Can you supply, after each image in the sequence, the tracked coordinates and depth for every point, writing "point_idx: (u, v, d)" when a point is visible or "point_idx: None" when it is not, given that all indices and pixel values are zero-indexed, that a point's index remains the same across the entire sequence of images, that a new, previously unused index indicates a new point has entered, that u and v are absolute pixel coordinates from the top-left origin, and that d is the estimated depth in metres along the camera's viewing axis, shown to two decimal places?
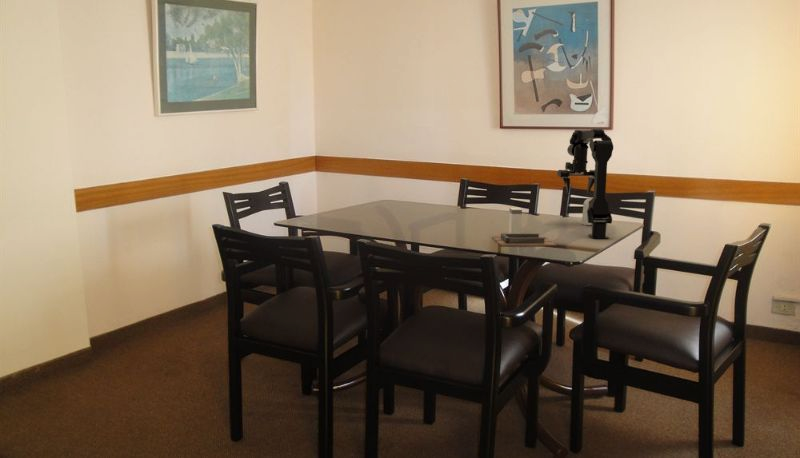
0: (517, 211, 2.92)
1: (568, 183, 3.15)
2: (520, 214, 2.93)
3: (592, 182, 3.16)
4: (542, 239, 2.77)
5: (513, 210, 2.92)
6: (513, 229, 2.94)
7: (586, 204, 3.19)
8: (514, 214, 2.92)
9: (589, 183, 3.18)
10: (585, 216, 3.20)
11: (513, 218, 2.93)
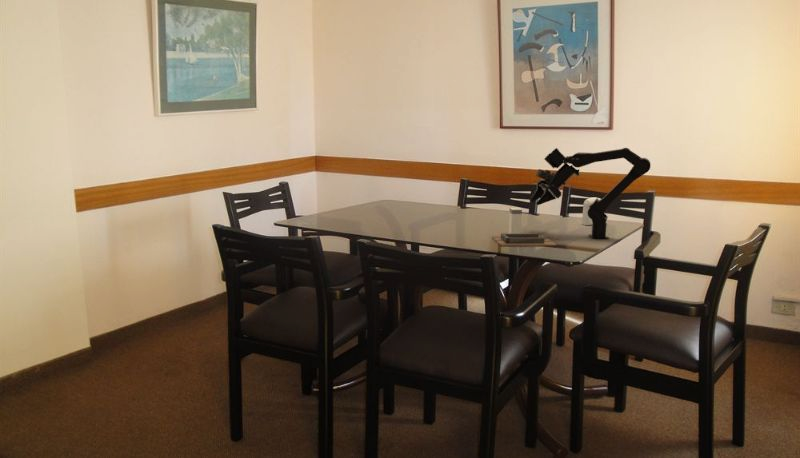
0: (517, 211, 2.92)
1: None
2: (520, 214, 2.93)
3: None
4: (542, 239, 2.77)
5: (513, 210, 2.92)
6: (513, 229, 2.94)
7: (586, 204, 3.19)
8: (514, 214, 2.92)
9: (539, 194, 2.99)
10: (585, 216, 3.20)
11: (513, 218, 2.93)
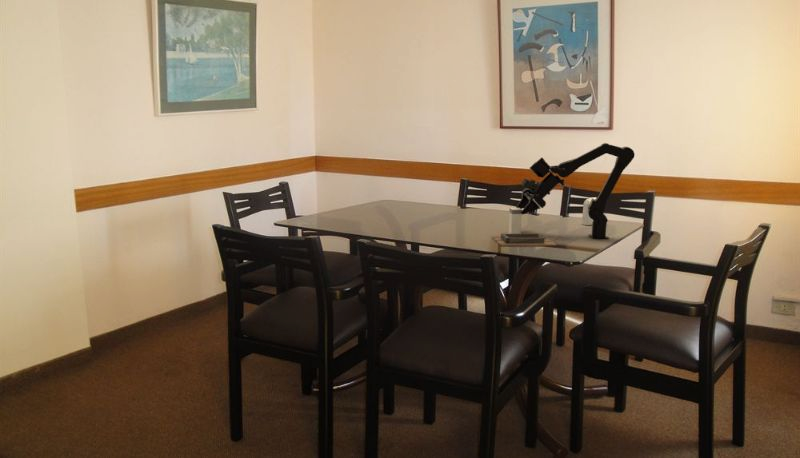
0: (517, 211, 2.92)
1: None
2: (520, 214, 2.93)
3: None
4: (542, 239, 2.77)
5: (513, 210, 2.92)
6: (513, 229, 2.94)
7: (586, 204, 3.19)
8: (514, 214, 2.92)
9: (524, 203, 2.99)
10: (585, 216, 3.20)
11: (513, 218, 2.93)
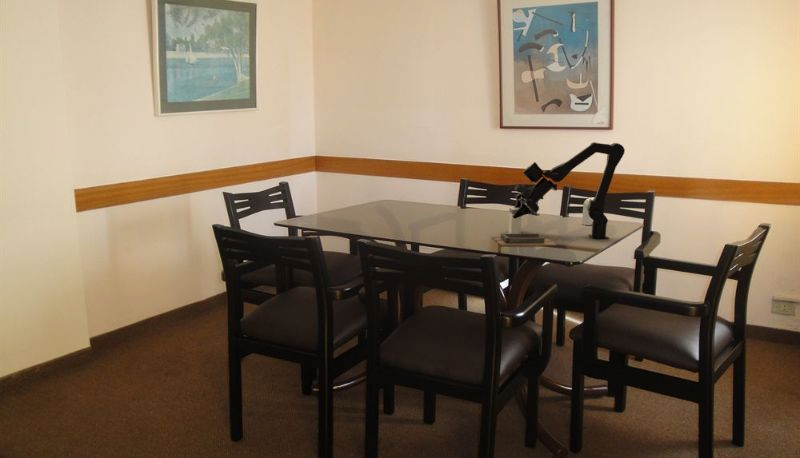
0: None
1: None
2: None
3: None
4: (542, 239, 2.77)
5: (513, 210, 2.92)
6: (513, 229, 2.94)
7: (586, 204, 3.19)
8: None
9: None
10: (585, 216, 3.20)
11: (513, 218, 2.93)
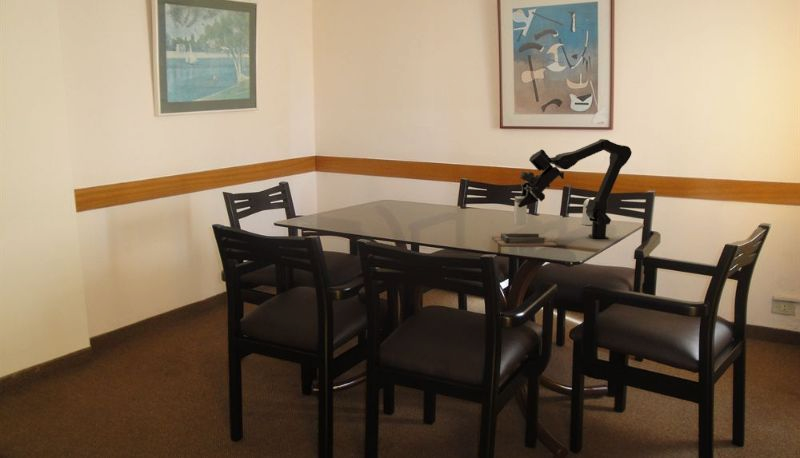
0: None
1: None
2: None
3: None
4: (542, 239, 2.77)
5: (518, 199, 2.83)
6: (518, 218, 2.85)
7: (586, 204, 3.19)
8: None
9: None
10: (585, 216, 3.20)
11: (518, 207, 2.84)
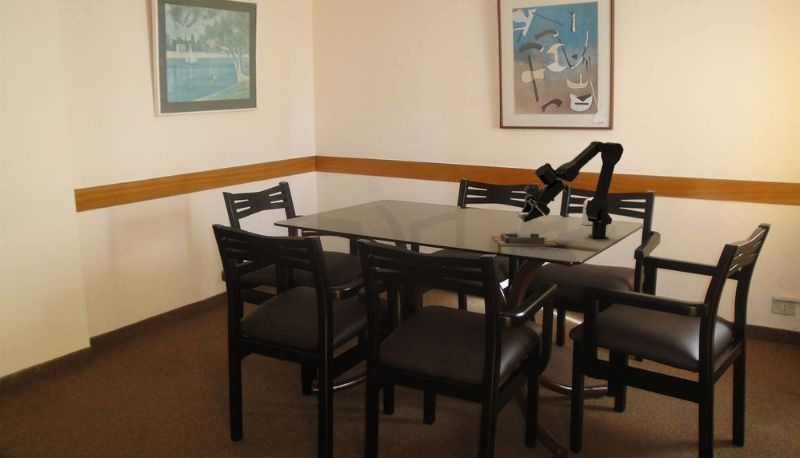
0: None
1: None
2: None
3: None
4: (542, 239, 2.77)
5: (522, 215, 2.77)
6: (522, 235, 2.79)
7: (586, 204, 3.19)
8: (523, 219, 2.78)
9: (527, 211, 2.84)
10: (585, 216, 3.20)
11: (522, 223, 2.78)
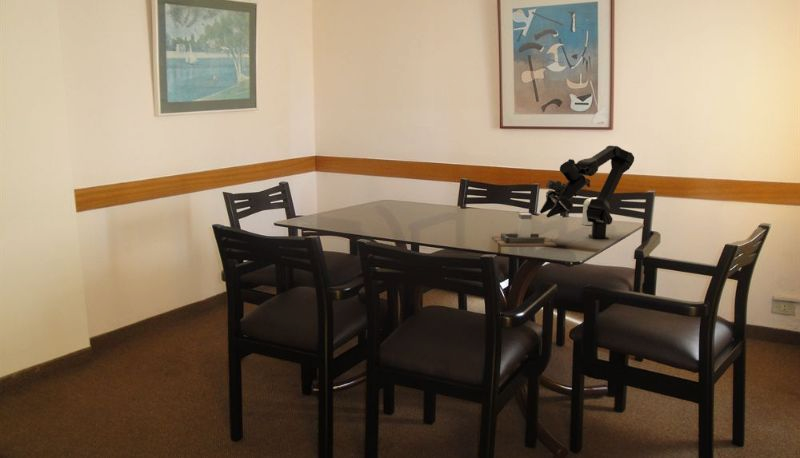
0: (527, 216, 2.77)
1: None
2: (530, 219, 2.78)
3: None
4: (542, 239, 2.77)
5: (522, 215, 2.77)
6: (522, 235, 2.79)
7: (586, 204, 3.19)
8: (523, 219, 2.78)
9: (548, 206, 2.85)
10: (585, 216, 3.20)
11: (522, 223, 2.78)
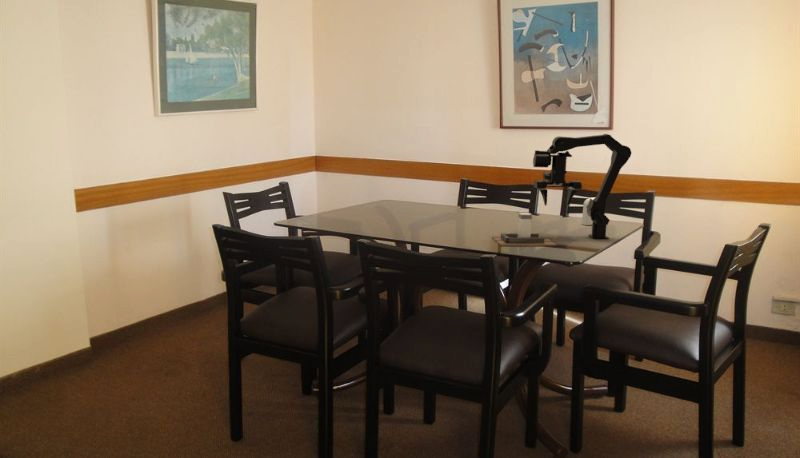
0: (527, 216, 2.77)
1: (545, 195, 2.88)
2: (530, 219, 2.78)
3: (572, 194, 2.89)
4: (542, 239, 2.77)
5: (522, 215, 2.77)
6: (522, 235, 2.79)
7: (586, 204, 3.19)
8: (523, 219, 2.78)
9: (568, 195, 2.91)
10: (585, 216, 3.20)
11: (522, 223, 2.78)
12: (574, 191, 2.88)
